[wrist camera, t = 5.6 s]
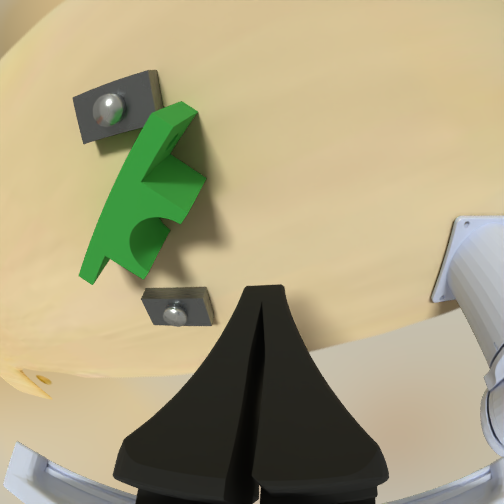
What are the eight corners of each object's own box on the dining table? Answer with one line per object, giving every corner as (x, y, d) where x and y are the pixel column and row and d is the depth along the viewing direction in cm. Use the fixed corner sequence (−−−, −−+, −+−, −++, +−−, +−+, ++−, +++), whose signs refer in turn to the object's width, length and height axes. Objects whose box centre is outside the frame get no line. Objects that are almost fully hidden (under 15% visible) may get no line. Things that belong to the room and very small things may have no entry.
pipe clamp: (149, 262, 20) (127, 307, 17) (108, 235, 19) (78, 276, 15) (238, 137, 15) (225, 162, 11) (182, 99, 14) (149, 113, 10)
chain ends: (156, 69, 12) (143, 70, 11) (214, 314, 23) (210, 331, 21) (83, 94, 13) (66, 99, 11) (157, 314, 23) (151, 330, 22)
